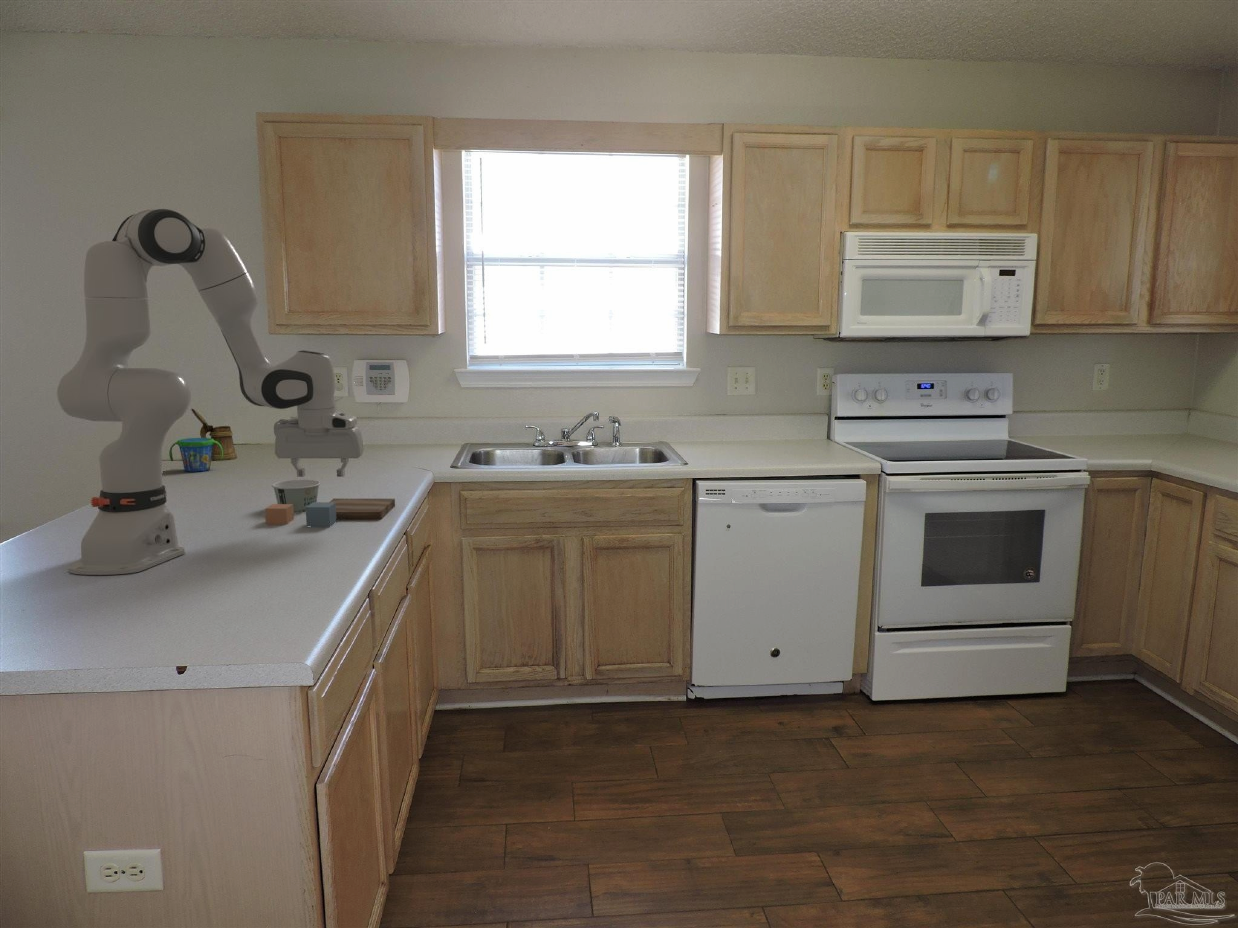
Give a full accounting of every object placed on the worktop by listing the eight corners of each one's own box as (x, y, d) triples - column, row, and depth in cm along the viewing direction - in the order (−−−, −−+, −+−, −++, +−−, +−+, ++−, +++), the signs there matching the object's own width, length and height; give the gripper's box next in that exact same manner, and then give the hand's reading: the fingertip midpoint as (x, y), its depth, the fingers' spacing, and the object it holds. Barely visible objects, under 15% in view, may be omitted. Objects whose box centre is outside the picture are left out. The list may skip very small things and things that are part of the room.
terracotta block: (287, 524, 211) (286, 508, 210) (266, 524, 211) (265, 508, 210) (293, 519, 216) (293, 504, 215) (273, 519, 216) (272, 504, 215)
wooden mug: (196, 457, 308) (192, 407, 305) (237, 456, 312) (234, 406, 309) (193, 461, 299) (189, 409, 296) (236, 459, 304) (233, 408, 301)
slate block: (330, 527, 208) (329, 507, 207) (306, 527, 208) (305, 507, 207) (336, 522, 214) (335, 502, 213) (313, 522, 213) (312, 502, 213)
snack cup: (226, 467, 290) (224, 436, 288) (220, 472, 279) (218, 441, 278) (175, 468, 286) (173, 437, 284) (167, 474, 276) (164, 442, 274)
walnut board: (380, 519, 216) (380, 511, 216) (315, 519, 216) (315, 511, 215) (395, 505, 232) (394, 498, 232) (334, 505, 231) (334, 498, 231)
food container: (305, 514, 222) (304, 488, 221) (263, 511, 224) (261, 486, 223) (330, 504, 234) (329, 480, 233) (289, 502, 236) (288, 478, 235)
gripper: (268, 421, 203) (272, 479, 206) (357, 421, 204) (360, 479, 207) (277, 417, 209) (281, 473, 212) (363, 417, 210) (366, 473, 213)
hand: (321, 476), depth 209 cm, fingers open, 8 cm apart
